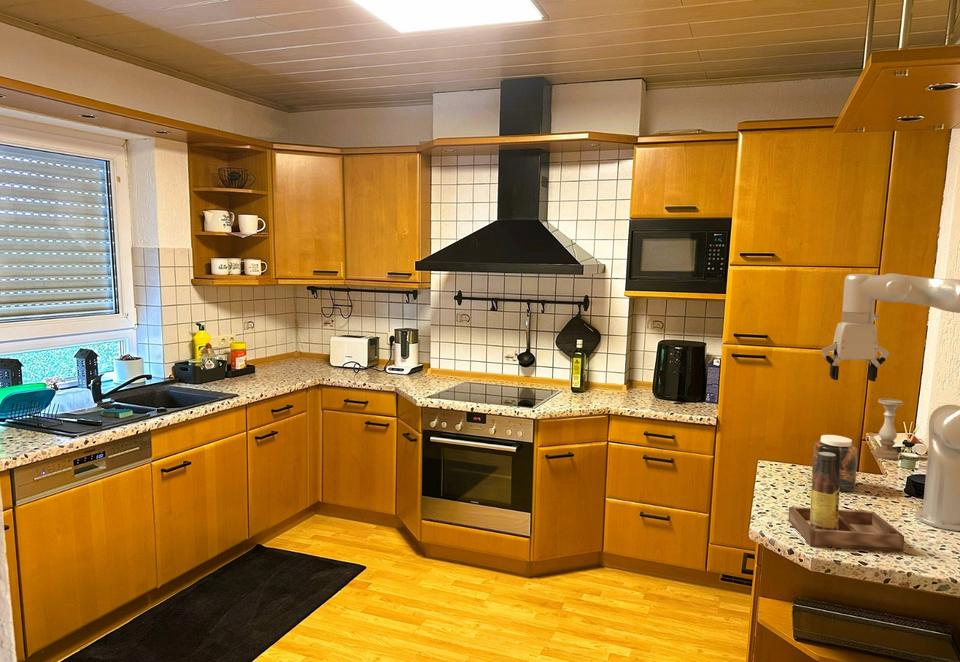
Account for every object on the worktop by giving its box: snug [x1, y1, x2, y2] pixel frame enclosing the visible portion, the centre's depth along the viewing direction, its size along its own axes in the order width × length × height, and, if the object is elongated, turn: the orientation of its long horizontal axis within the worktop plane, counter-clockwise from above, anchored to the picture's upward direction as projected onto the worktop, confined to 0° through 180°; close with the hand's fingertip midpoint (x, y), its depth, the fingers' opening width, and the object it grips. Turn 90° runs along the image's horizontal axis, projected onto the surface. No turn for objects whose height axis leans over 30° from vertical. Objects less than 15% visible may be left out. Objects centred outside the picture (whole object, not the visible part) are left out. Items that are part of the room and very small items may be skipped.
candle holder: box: [871, 398, 904, 460], centre depth 225 cm, size 9×9×20 cm
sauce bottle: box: [809, 452, 840, 530], centre depth 159 cm, size 7×6×20 cm
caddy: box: [787, 506, 905, 553], centre depth 159 cm, size 21×15×4 cm
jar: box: [811, 434, 858, 493], centre depth 195 cm, size 12×12×15 cm
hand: (852, 380), depth 176 cm, fingers open, 9 cm apart
